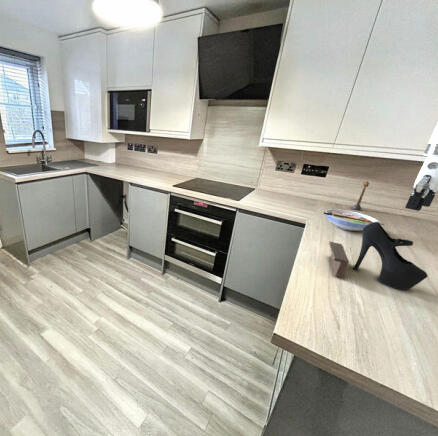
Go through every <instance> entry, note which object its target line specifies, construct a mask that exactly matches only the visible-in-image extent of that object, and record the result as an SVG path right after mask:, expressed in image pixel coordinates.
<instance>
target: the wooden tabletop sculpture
mask: <svg viewBox="0 0 438 436" xmlns="http://www.w3.org/2000/svg"><path fill="white" fill-rule="evenodd" d="M362 185H363V188H362V190H361V193H360V194H359V198H358V200H357V201H356V203H355V204H354V205H352V207H351V210H354V211H361V210H362V206H361V203H362V200H363V198H364V197H363V196H364V194H365V192H366V189H367V187H369V185H370V182H369V181H367V180H366V181H364V182H363V184H362Z"/></svg>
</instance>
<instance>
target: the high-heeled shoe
mask: <svg viewBox="0 0 438 436" xmlns="http://www.w3.org/2000/svg"><path fill="white" fill-rule="evenodd" d="M379 223H380V222H373V223H371V224H368V225H367V226H365V227H364V228H363V230H361V232H362V233H361V236H362V239H361V247H360V251H359V255H358V258H357V260H356V262H355V264H354V266H353V267H352V269H353V270H354V271H358V270H359V268H360V267H361V264H362V263H363V260H364V259H365V257H366V254H368V252H369V250H370V247H373V248H374V249H375V251H377V253H378V255H379V257H380V260H381V268H380V273H379V275H378V277H377V281H378V282H379V283H381V284H382V285H385V286H387V287H389V288H393V289H396V290H402V291H409V290H411V289H412V288H414V287H415V286H416V285H418V284H420V283H422V281H424V280H425V279H427V278H428V273H427V272H426V271H425V270H423V269H422V268H420V267H419V266H417V265H416V264H415V263H413V262H412V261H409V260H407V259H406V258H404V256H402V255H401V254H400V252H399V251H398V250H397V248H396V247H412V246H413V245H414V241H412V240H410V239H409V240H408V239H403V238H394V237H391V236H390V235H389V234H388V232H387V231H386V230H385V228H384V227H383V225H382V224H381V223H380V224H379Z"/></svg>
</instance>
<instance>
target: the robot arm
mask: <svg viewBox="0 0 438 436" xmlns="http://www.w3.org/2000/svg"><path fill="white" fill-rule="evenodd" d="M422 156H426V158H425V160H424V162H423V164H422V166H421V168H420V170H419V172H418V174H417V176H416V178H415V181H414V183H413V188H414V189H413V191H412V192H411V194H410V196H409V198H408V200H407V201H406V205H405V209H408V210H413V211H417V212H419V211H421V210H422V208H423V207H427V208H429V207H430V206H432V205H431V204H432V202H433V201H434V199H435V196H436V194H437V192H438V122H437V123H436V124H435V127H434V130H433V131H432V134H431V136H430V138H429V140H428V143H427V145H426V147H425V149H424V151H423V154H422Z"/></svg>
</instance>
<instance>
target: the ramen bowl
mask: <svg viewBox="0 0 438 436" xmlns="http://www.w3.org/2000/svg"><path fill="white" fill-rule="evenodd" d="M323 215H325V216H326V217H327V219H328V220H329V222H330V223H331V224H332V225H335V226H336V227H338V228H339V229H341V230H344V231H350V232H354V231H357V232H358V231H362V230H363V228H364V227H365V226H367V225H368V224H371V223H373V222H379V220H378V219H377V218H375V217H373V216H369V215H367V214H364V213H360V212H356V211H352V210H347V209H339V208H329V209H326V210H325V211H324V212H323ZM379 224H380V225H381V226H385V223H380V222H379Z"/></svg>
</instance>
